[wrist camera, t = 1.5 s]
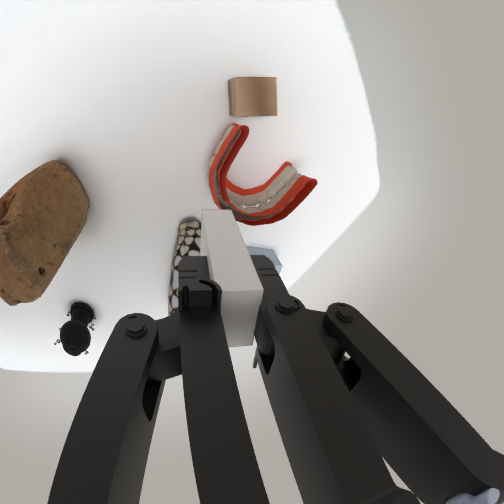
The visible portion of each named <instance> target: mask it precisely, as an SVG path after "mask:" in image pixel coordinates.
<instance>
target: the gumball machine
mask: <svg viewBox="0 0 504 504" xmlns="http://www.w3.org/2000/svg"><path fill="white" fill-rule="evenodd" d="M68 313H70V314H71V321H68V322H66V323H65V324H64V325H63V326H62V328H60V329H59V330H60V340H58V339H57V343H60V341H61V342H62V344H63V348H64V350H65V351H66V352H67V353H68V354H70V355H72V356H78V355H80V354H81V353H82V352H84V351H85V350H86V349H87V348H88V347H89V345H90V341H91V336H90V332H89V330H88V328H87V326H88V324H89V323H90V322H91V321H92V320H93V319H96V317H94V313H93V311H92V309H91V308H90V307H89V306H87V305H86V304H83V303H74V304H73V305H72V306H71V309H70V311H69V312H68ZM67 316H69V314H67ZM91 325H92V326H93V325H94V324H91ZM92 326H89V328H91V329H92V330H94V328H92ZM54 345H56V343H54ZM87 353H88V351H86V353H85V354H86V355H87Z"/></svg>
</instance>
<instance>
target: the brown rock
mask: <svg viewBox="0 0 504 504" xmlns="http://www.w3.org/2000/svg"><path fill="white" fill-rule="evenodd" d="M88 207H89V202H88V198H87V195H86V193H85V191H84V189H83V187H82V185H81V183H80V182H79V180H78V179H77V177H75V176H74V175H73V173H72V172H71V170H70V169H69V168H68V167H66V166H65V165H64V164H59V162H58V161H55V160H53V161H50V162H47V163H45V164H43V165H41V166H40V167H38V168H36V169H35V170H33V171H32V172H30V173H29V174H27V175H26V176H24V177H23V178H22V179H20V180H19V181H18V182H17V183H16V184H14V185H13V186H12V187H11V188H10V189H9V190H8V191H7V192H6V193H5V194H4V195H3V196H2V197H1V198H0V297H1V298H2V299H3V300H4V301H5V302H6V303H8V304H9V305H17V304H19V303H22V302H23V303H28V302H33V301H35V300H36V299H38V298H39V297H41V295H42V294H43V293H44V291H45V290H46V288H47V287H48V285H49V284H50V282H51V281H52V279H53V277H54V276H55V274H56V273H57V271H58V269H59V268H60V266H61V264H62V262H63V261H64V259H65V257H66V256H67V254H68V252H69V250H70V249H71V247H72V246H73V244H74V242H75V241H76V239H77V237H78V236H79V234H80V232H81V230H82V228H83V226H84V225H85V223H86V220H87V209H88Z"/></svg>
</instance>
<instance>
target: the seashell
mask: <svg viewBox="0 0 504 504" xmlns="http://www.w3.org/2000/svg"><path fill="white" fill-rule="evenodd" d="M200 245H201V224H200V223H199V222H197V221H190V222H187V223H181V224H180V225H179V228H178V239H177V244H176V248H175V253H174V258H173V264H172V271H171V281H170V289H169V301H168V316H170V315H171V314H173V313H174V312H175V311H176V309H177V307H178V288H179V284H178V263H179V261H180V260H181V259H182V257H183V256H200Z"/></svg>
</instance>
